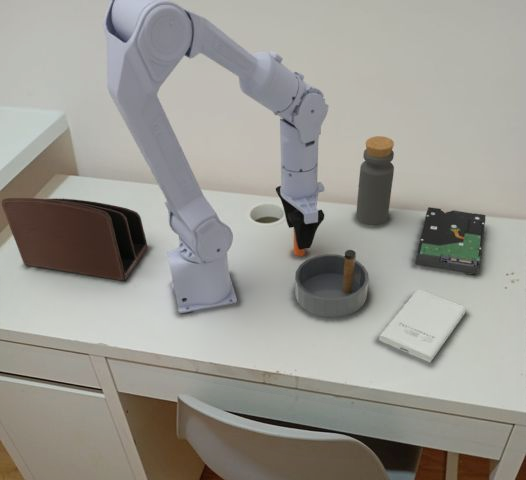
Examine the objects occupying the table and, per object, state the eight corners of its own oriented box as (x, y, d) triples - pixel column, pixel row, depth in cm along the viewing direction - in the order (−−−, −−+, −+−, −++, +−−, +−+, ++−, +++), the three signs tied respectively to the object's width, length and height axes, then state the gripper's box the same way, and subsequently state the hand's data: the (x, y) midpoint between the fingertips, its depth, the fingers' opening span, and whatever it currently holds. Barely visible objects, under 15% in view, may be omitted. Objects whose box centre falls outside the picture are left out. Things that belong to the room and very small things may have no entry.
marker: (295, 258, 101) (295, 217, 95) (292, 251, 102) (291, 210, 96) (306, 256, 101) (307, 214, 95) (303, 249, 102) (304, 208, 96)
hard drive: (464, 315, 89) (429, 364, 82) (415, 296, 92) (378, 341, 86) (466, 307, 88) (431, 356, 81) (417, 288, 91) (379, 333, 85)
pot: (306, 325, 89) (306, 305, 86) (287, 280, 97) (287, 260, 94) (376, 311, 90) (379, 292, 87) (352, 268, 98) (354, 249, 95)
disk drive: (424, 219, 107) (414, 266, 98) (426, 206, 105) (416, 253, 96) (482, 227, 105) (478, 276, 95) (486, 213, 103) (482, 262, 93)
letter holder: (125, 282, 98) (105, 210, 88) (24, 266, 103) (-6, 196, 92) (148, 248, 105) (133, 177, 95) (52, 234, 109) (27, 165, 99)
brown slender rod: (344, 294, 93) (346, 256, 88) (340, 288, 94) (343, 250, 89) (353, 292, 93) (357, 255, 88) (350, 286, 94) (353, 248, 89)
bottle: (386, 228, 106) (396, 151, 95) (354, 226, 107) (361, 149, 96) (388, 210, 110) (398, 135, 99) (357, 208, 111) (363, 133, 100)
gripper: (338, 182, 85) (334, 257, 94) (311, 138, 94) (309, 210, 104) (292, 189, 84) (292, 264, 93) (269, 144, 94) (272, 216, 103)
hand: (299, 236), depth 99 cm, fingers open, 6 cm apart
